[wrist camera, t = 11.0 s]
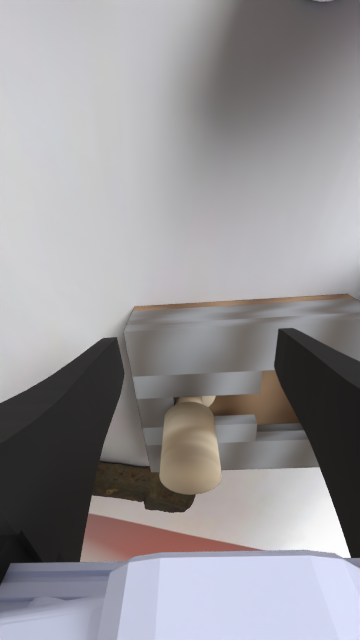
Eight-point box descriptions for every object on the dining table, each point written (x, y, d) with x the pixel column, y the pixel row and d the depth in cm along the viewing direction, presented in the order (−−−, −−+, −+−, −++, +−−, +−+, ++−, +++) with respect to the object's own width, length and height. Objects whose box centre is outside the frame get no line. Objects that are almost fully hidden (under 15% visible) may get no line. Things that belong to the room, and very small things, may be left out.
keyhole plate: (347, 293, 21) (386, 317, 17) (314, 427, 28) (336, 466, 24) (134, 306, 22) (123, 332, 18) (155, 433, 29) (150, 472, 25)
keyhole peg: (213, 359, 23) (228, 448, 15) (215, 399, 25) (230, 497, 17) (158, 363, 23) (145, 453, 15) (166, 403, 25) (157, 500, 17)
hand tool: (47, 465, 32) (27, 505, 28) (46, 444, 30) (25, 484, 26) (191, 484, 34) (192, 525, 30) (198, 465, 32) (200, 506, 28)
